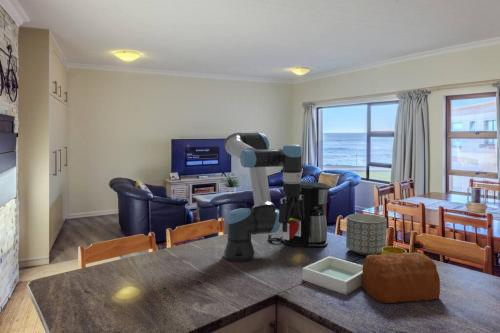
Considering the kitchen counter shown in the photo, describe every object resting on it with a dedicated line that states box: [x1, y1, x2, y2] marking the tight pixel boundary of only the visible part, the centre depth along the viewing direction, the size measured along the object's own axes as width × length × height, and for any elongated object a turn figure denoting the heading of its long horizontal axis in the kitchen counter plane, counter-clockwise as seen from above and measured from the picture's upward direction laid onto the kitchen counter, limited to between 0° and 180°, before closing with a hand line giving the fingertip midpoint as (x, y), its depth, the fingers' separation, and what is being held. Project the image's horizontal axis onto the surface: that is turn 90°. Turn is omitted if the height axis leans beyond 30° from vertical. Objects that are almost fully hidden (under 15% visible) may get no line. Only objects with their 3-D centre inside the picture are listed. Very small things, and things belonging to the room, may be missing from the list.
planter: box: [345, 213, 388, 257], centre depth 177 cm, size 19×19×18 cm
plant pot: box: [380, 245, 408, 254], centre depth 153 cm, size 10×10×10 cm
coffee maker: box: [267, 180, 332, 248], centre depth 194 cm, size 23×32×34 cm
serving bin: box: [302, 256, 364, 296], centre depth 145 cm, size 20×20×5 cm
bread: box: [361, 251, 441, 304], centre depth 132 cm, size 17×24×15 cm
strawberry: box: [288, 216, 299, 238], centre depth 145 cm, size 6×8×10 cm
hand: (291, 237), depth 146 cm, fingers closed on strawberry, 7 cm apart
